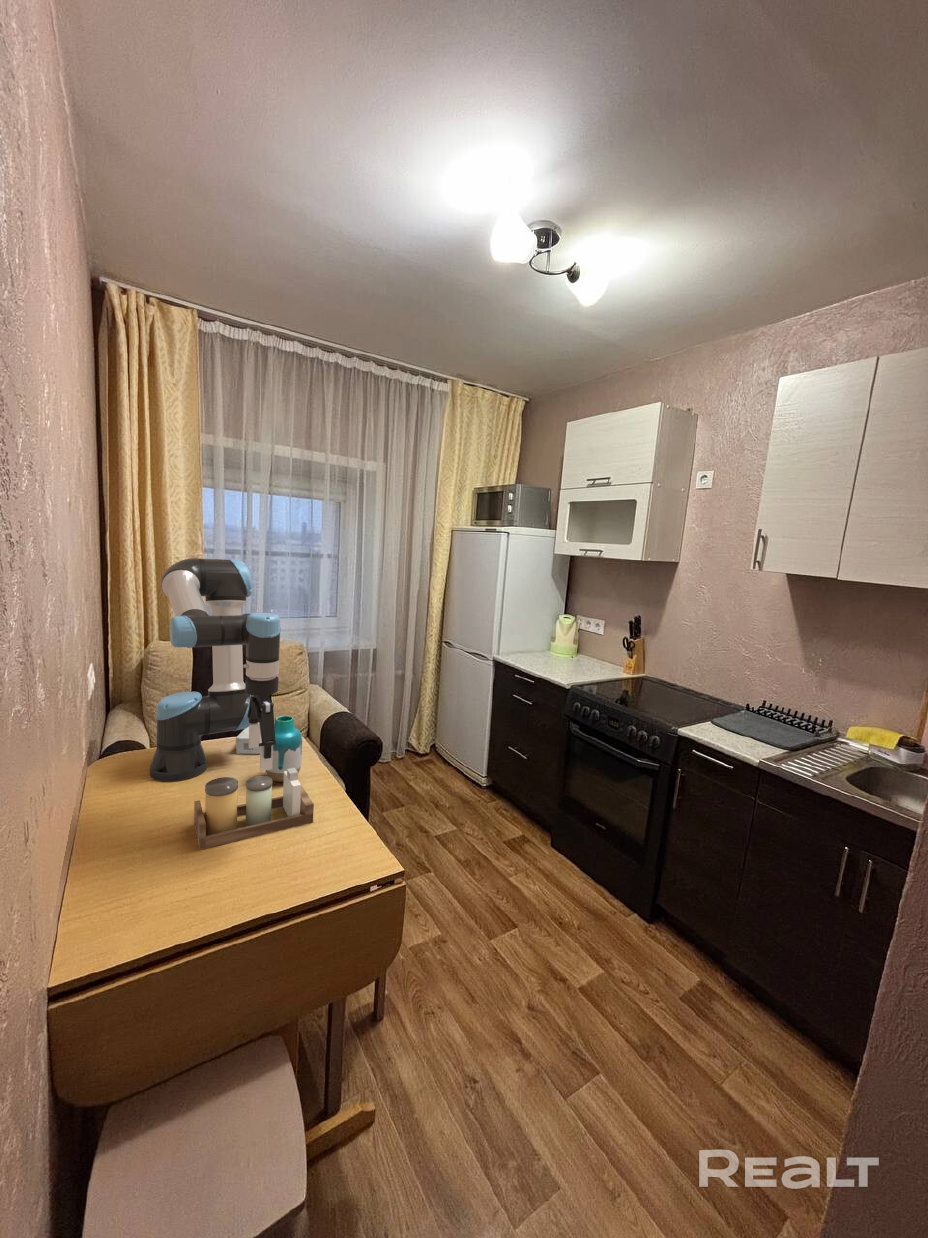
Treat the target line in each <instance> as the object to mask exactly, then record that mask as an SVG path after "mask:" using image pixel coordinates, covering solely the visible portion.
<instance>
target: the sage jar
mask: <svg viewBox="0 0 928 1238" xmlns="http://www.w3.org/2000/svg"><path fill="white" fill-rule="evenodd" d="M245 789H246V790H245V804H246V815H245V827H247V826H251V825H255V824H260V823H264V822H268V821H272V809H271V804H272V798H273V796H272V795H273V780H272V778H270V777H268V776H267V775H258V776H252V777H250V778H249V779H248V780H246V782H245Z"/></svg>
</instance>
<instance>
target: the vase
mask: <svg viewBox="0 0 928 1238" xmlns="http://www.w3.org/2000/svg"><path fill="white" fill-rule="evenodd" d="M274 727H275V740H276V744H275V745H273V763H272V769H270V770H264V771H265V774H266V776H268V777H270V778H272V782H273V781H274V782H280V783H281V782H282V783H284V771H287V769H290V768H295V769H296V770H297V772H298V774H299V773H300V771H301V766H302V756H303V735H302V732H301V731H300V729H299V728H296V727H295V718H294V717H293V716H292V715H287V714H286V715H279V716H276V717H274Z"/></svg>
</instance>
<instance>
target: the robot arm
mask: <svg viewBox="0 0 928 1238" xmlns="http://www.w3.org/2000/svg"><path fill="white" fill-rule="evenodd" d="M160 582H161V584H160V585H161V589H162V592H163V594H164V595H165V596H166V597H167V598H169V603H170V605H171V608H172V612H173V614H174V617H171V618H170V621H169V638H170V644H171V646H173V647H174V648H188V649H192V648H203V647H205V648H206V647H212V649H211V650H212V678H213V679H212V680H213V683H212V685H211V686H209V688H208V689H207V695H204V696H202V694H201V693H200V691H199V692H198V691H181V692H177V693H173V694H169V695H167V696H165V697H163V698H161V699H160V700H159V701H158V702H157V705H156V713H155V720H156V733H155V734H156V736H155V737H156V747H155V748H156V749H155V751H154V754H153V756H152V760H151V762H150V765H149V776H150V778H152V779H153V780H155V781H159V782H180V781H184V780H188V779H191V778H195V777H198V776H200V775H202V774H203V773H205V771H206V770H207V769H208V758H207V755H206V753H205V750H204V747H203V745H202V736H205V735H212V734H219V733H225V732H231V731H233V732H236V731H240V730H244V729H245V728H248V727H249V749H250V748H257V747H260V754H259V771H260V772H263V771H265V770H270V769H272V763H273V745H275V744H276V740H275V727H274V725H275V716H274V714H275V713H274V702H273V701H272V700H271V699H270V696H271V695H274V694H276V693H278V691H279V677H278V676H279V674H280V646H281V645H280V644H281V642H280V641H281V631H282V627H281V618H280V616H279V614H276V613H272V612H254V613H253V612H244V613H242V607H243V606H244V605H245V604H246V603H247V598H249V597H251V595H252V593H253V583H252V576H251V573H250V570H249V567H248V566H247V564H246V563H245V562H244V561H241V560H234V559H219V558H218V559H215V558H214V559H213V558H196V557H195V558H193V557H191V558H186V559H181V560H179V561H177V562H175V563H173V564H171V565H170V566H169V567H168V568H167V569H166V570H165V571H164V572H163V574H162V576H161V581H160ZM203 597H205V600H204V599H203ZM204 601H205V602H204ZM205 603H206V604H207V605H208V606H209V607H210V608H211V609H210V610H211V611H210V612H211V615H210V613H209V611H208V609H207V607H206V604H205ZM244 645H245V647H246V648H245V649H246V650H245V652H246V653H245V660H246V661H245V662H246V663H245V664H243V663H244V661H243V659H244V658H243V657H244V656H243V646H244ZM244 669H245V675H246V677H245V682H244ZM260 737H261V740H262V743H260Z"/></svg>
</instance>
